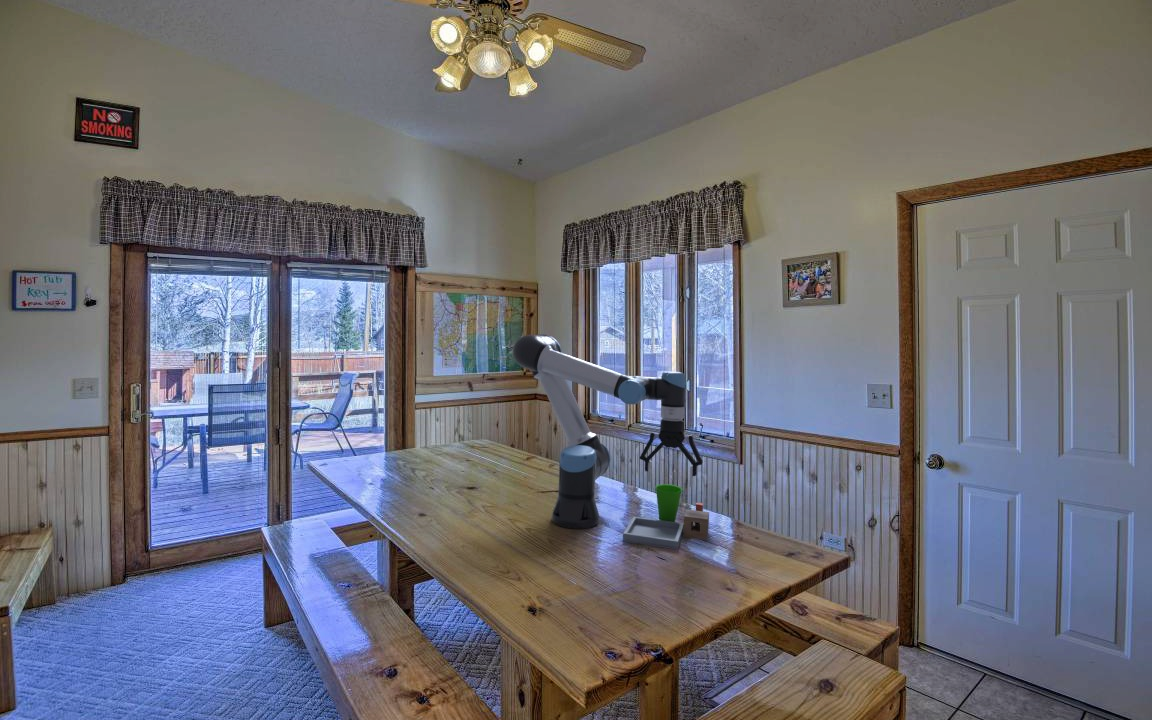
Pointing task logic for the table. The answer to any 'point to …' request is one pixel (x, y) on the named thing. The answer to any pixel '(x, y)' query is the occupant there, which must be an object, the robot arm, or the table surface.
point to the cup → (668, 501)
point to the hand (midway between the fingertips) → (670, 483)
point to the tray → (654, 532)
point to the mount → (696, 529)
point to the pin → (699, 508)
